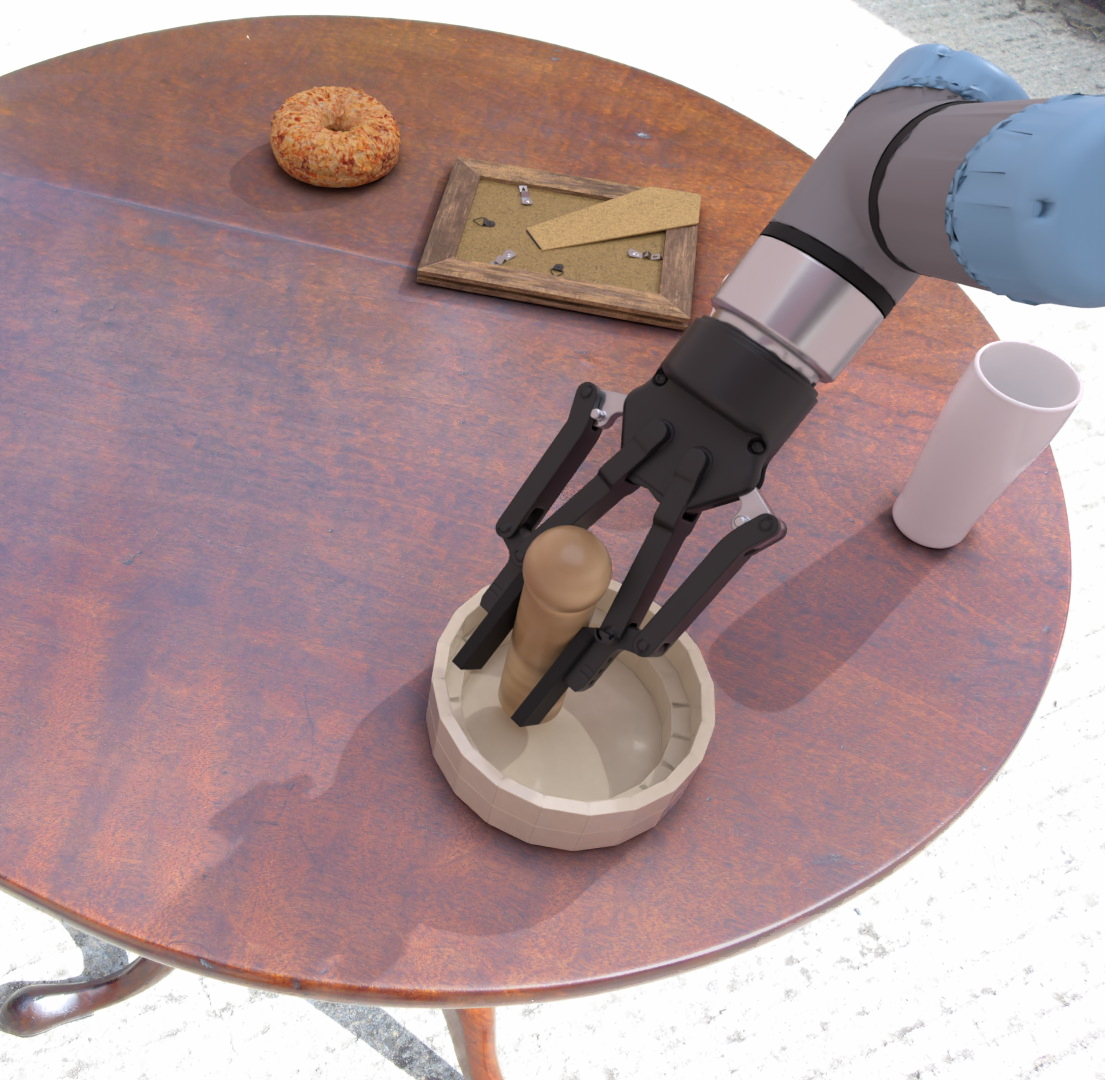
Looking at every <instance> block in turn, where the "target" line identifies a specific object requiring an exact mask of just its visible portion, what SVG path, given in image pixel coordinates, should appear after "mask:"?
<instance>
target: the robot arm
mask: <svg viewBox="0 0 1105 1080" xmlns="http://www.w3.org/2000/svg"><path fill="white" fill-rule="evenodd" d="M728 274H729V275H728ZM728 274H727V275H728V276H727V275H726V276H727V277H726V276H725V277H726V278H725V277H724V278H725V280H724V279H723V280H724V281H723V280H722V281H723V282H721V283H720V285H718V287H717V288H716V290H715V291H714V292H713V294H712V295H711V296H710V304H711V307H712V309H713V308H714V309H715V312H714V313H713V315H712V316H711V317H710V315H708V314H702V316H701V317H699V316H695V318H694V319H693V321H692V322H691V323H690V324H689V325H688V327H687V330H686V331H684V333H683V334H682V335H681V337H680V338H679V339H678V340H677V342H676V343H675V345H674V346H673V347H672V348H671V350H670V351H669V352H668V354H667V355H666V356H665V358H664V359H663V360H662V362H661V363H660V364H659V366H658V368H657V369H656V371H655V372H654V374H653V375H652V377H651V378H650V379H649V380H648V381H646V382H645V383H643V384H641V385H639V386H637V387H635V388H634V389H632V390H631V391H630V392H629V393H628V394H626V393H622V392H617V391H612V390H608V389H602V388H601V387H600V386H598V385H597V384H595V383H593V382H591V381H584V382H582V383H580V384H579V385H578V386H577V388H576V391H575V393H574V397H573V400H572V404H571V407H570V411H569V414H568V418H567V420H566V422H565V423H564V424H563V426H562V427H561V428H560V430H559V431H558V433H557V434H556V435H555V437H554V439H553V440H552V441H551V443H550V445H549V446H548V448H546V450H545V452H544V453H543V455H542V456H541V457H540V459H539V460H538V462H537V463H536V465H535V466H534V468H533V469H532V471H531V472H530V474H529V475H528V476H527V478H526V479H525V480H524V482H523V483H522V485H521V486H520V488H519V489H518V491H517V492H516V493H515V495H514V496H513V498H512V500H511V501H510V502H509V504H508V505H507V507H505V509H504V511H503V512H502V514H501V516H500V517H499V518H498V520H497V521H496V524H495V526H494V527H495V528H494V530H495V533H496V535H497V536H498V537H500V538H501V539H502V540H503V542H504V545H505V546H506V548H507V550H508V553H509V554H508V555H509V556H508V560H507V562H506V564H505V565H504V567H502V569H501V571H500V572H499V573H498V574H497V576H496V577H495V578H494V579H493V581H492V583H490V584H491V585H490V584H489V585H490V586H489V588H488V589H487V590H486V592H485V593H484V594H483V596H482V598H481V602H480V606H481V607H482V608H483V609H484V610H486V611H487V612H488V614H487V615H486V617H485V618H484V619H483V621H482V622H481V623H480V625H479V626H478V627H477V629H476V630H475V631H474V632H473V634H472V635H471V636H470V638H469V639H468V640H467V642H466V643H465V644H464V646H463V647H462V648H461V649H460V651H459V652H458V653H457V655H456V656H455V657H454V659H453V660H452V662H453V663H454V664H455V665H456V666H457V667H458V668H459V669H460V670H476V669H482V668H483V666H484V665H485V664H486V662H487V661H488V660H489V659H490V657H491V656H492V655H493V653H494V652H495V651H496V650H497V648H498V647H499V646H500V644H501V643H502V642H503V640H504V639H505V638H506V637H507V635H508V634H509V633H510V631H511V630H512V629H513V627H514V623H515V618H516V614H517V610H518V606H519V602H520V598H521V593H522V589H523V585H524V578H523V560H524V557H525V554H526V551H527V549H528V547H529V546H530V544H531V543H532V542H533V541H534V539H535V538H536V537H537V536H539V535H540V534H541V533H543V532H544V531H546V530H548V529H550V528H553V527H557V526H562V525H571V526H577V527H581V528H584V529H586V530H588V529H590V528H591V527H592V526H593V525H595V524H596V523H597V522H598V521H599V520H600V519H601V518H602V517H603V516H605V515H606V514H607V513H608V512H609V511H610V510H612V508H614V507H615V506H616V505H618V503H620V501H622V500H623V499H624V498H626V497H628V496H631V495H632V494H633V493H635V492H636V491H638V490H639V489H640V488H641V487H642V488H644V489H646V490H648V491H649V493H650V494H651V495H652V496H653V498H654V500H655V501H657V502H658V503H659V504H658V507H657V508H656V510H655V512H654V515H653V517H652V524H651V526H650V528H649V530H648V532H647V534H646V536H645V539H644V540H643V542H642V544H641V546H640V548H639V550H638V552H637V554H636V556H635V557H634V560H633V562H632V564H631V565H630V567H629V569H628V572H627V574H626V575H625V577H624V579H623V582H622V583H621V584H622V585H621V587H620V589H619V591H618V593H617V595H616V597H615V599H614V601H613V603H612V605H611V607H610V609H609V611H608V613H607V615H606V616H605V618H604V620H603V622H602V624H601V626H600V628H599V627H595V628H593V627H582V628H581V629H580V631H579V632H578V633H577V634H576V636H575V637H574V638H573V639H572V641H571V642H570V643H569V644H568V646H567V647H566V648H565V649H564V651H563V652H562V653H561V654H560V656H559V657H558V658H557V660H556V661H555V662H554V663H553V665H552V666H551V667H550V668H549V670H548V671H547V672H546V673H545V675H544V676H543V677H542V678H541V680H540V681H539V682H538V683H537V685H536V686H535V687H534V689H533V690H532V691H531V692H530V694H529V695H528V696H527V697H526V699H525V700H524V701H523V702H522V704H521V705H520V706H519V707H518V709H517V710H516V711H515V712H514V714H513V715H512V716H511V719H512V720H513V721H514V722H515V723H516V724H517V725H518V726H519V727H525V726H532V725H539V724H540V723H541V721H542V720H543V719H544V718H545V716H546V715H547V714H548V713H549V711H550V710H551V709H552V708H553V706H554V705H555V704H556V703H557V701H558V700H559V699H560V698H561V696H562V695H563V694H564V693H565V691H566V690H567V689H568V688H569V687H570V688H571V689H572V690H573V691H574V692H582V691H585V690H587V689H589V688H591V687H592V686H593V685H594V684H595V683H596V681H597V680H598V679H599V678H600V676H601V675H602V674H603V673H604V672H605V670H606V669H607V668H608V667H609V665H610V664H611V663H612V662H613V660H614V659H615V658H616V657H617V656H618V654H619V653H620V652H622V651H624V650H627V651H629V652H632V653H634V654H636V655H638V656H639V657H661V656H662V655H664V654H665V653H666V652H667V651H668V650H669V649H670V647H671V646H672V645H673V644H674V643H675V642H676V641H677V640H678V638H679V637H680V636H681V635H682V634H683V633H684V632H685V631H686V632H687V629H689V627H690V626H691V625H692V624H693V623H694V622H695V620H696V619H698V617H699V616H700V615H701V614H702V613H703V612H704V610H705V609H706V608H707V607H708V606H709V605H710V604H711V603H712V602H713V601H714V599H715V598H717V596H718V594H720V592H721V591H722V590H723V589H724V588H725V587H726V586H727V585H728V583H730V582H731V580H733V578H734V577H735V576H736V575H737V574H738V572H739V571H740V570H741V569H742V567H744V566H745V565H746V563H747V562H748V561H749V560H750V559H751V558H752V557H754V556H755V555H757V554H758V553H760V552H762V551H764V550H765V549H768V548H770V547H771V546H773V545H775V544H776V543H779V542H781V541H782V540H784V539H785V538H786V536H787V534H788V526H787V524H786V523H785V521H784V520H782V519H781V518H779V517H777V516H776V514H775V512H774V511H773V509H772V507H771V506H770V504H769V503H768V501H767V499H766V498H765V496H764V494H763V492H762V491H761V489H762V487H763V485H764V482H765V478H766V473H767V469H768V467H769V464H770V463H771V461H772V459H773V458H774V457H775V456H776V454H777V453H779V451H780V450H781V449H782V447H783V446H784V445H785V444H786V442H787V441H788V440H789V439H790V437H791V436H792V435H793V434H794V432H795V431H796V430H797V429H798V427H799V426H800V425H801V424H802V423H803V421H804V420H805V419H806V418H807V416H808V415H809V414H810V413H811V412H812V411H813V409H814V408H815V406H817V404H818V403H819V400H818V396H819V392H818V391H817V389H816V388H815V387H816V386H817V384H818V383H822V384H830V383H834V382H836V380H837V379H838V377H840V375H841V374H842V373H843V371H844V370H845V369H846V368H847V366H848V365H849V364H850V363H851V362H852V360H853V359H854V358H855V357H856V356H857V354H858V353H859V352H860V351H861V349H862V348H863V347H864V345H865V344H867V342H868V341H869V340H870V338H871V337H872V336H873V335H874V334H875V332H876V331H877V330H878V328H879V327H880V326H881V324H882V323H883V322H884V320H886V318H887V317H888V316H889V315H890V313H891V312H892V311H893V310H894V308H895V307H896V306H897V304H899V302H900V301H901V299H902V298H903V297H904V296H905V295H906V294H907V292H908V291H909V290H910V289H911V288H912V286H913V285H914V284H915V283H916V282H917V280H918V279H919V278H920V277H921V276H924V277H929V278H934V279H938V280H943V281H946V282H951V283H955V284H958V285H962V286H966V287H970V288H974V289H978V290H981V291H986V292H988V293H989V292H990V293H992V294H994V295H996V296H1005V297H1007V298H1008V299H1009V300H1010V301H1011V302H1014V303H1018V304H1019V303H1020V304H1024V305H1029V306H1034V307H1036V306H1039V305H1049V304H1051V305H1056V306H1064V307H1070V308H1078V309H1100V308H1105V93H1102V94H1101V93H1100V94H1084V93H1082V92H1076V93H1073V94H1060V95H1055V96H1052V97H1043V98H1030V96H1029V94H1028V93H1027V91H1026V90H1025V89H1024V88H1023V87H1022V86H1021V85H1020V84H1019V82H1018V81H1016V79H1014V78H1013V77H1012V76H1011V75H1010V74H1009V73H1007V72H1006V71H1005V70H1004V69H1002V68H1000V67H999V66H998V65H996V64H995V63H993V62H991V61H989V60H988V59H987V58H984V57H981V56H980V55H978V54H976V53H974V52H971V51H968V50H966V49H960V50H959V49H958V50H954V49H952V47H949V46H948V45H945V44H942V43H923V44H919V45H918V44H917V45H915V46H912V47H910V48H907V49H906V50H904V51H903V52H902V53H900V54H898V55H897V57H895V58H894V60H892V62H890V64H889V65H888V67H887V68H886V69H885V70H884V71H883V73H882V74H881V75H880V76H879V77H878V78H877V79H876V81H875V82H874V83H873V84H872V85H871V86H870V88H869V89H868V90H867V91H866V92H864V93H862V94H861V95H860V96H859V97H858V98H857V99H856V100H855V102H854V103H853V105H851V107H850V108H849V110H848V111H847V113H846V115H845V118H844V119H843V122H842V123H841V125H840V126H839V127H838V129H837V130H836V131H835V132H834V134H833V135H832V137H831V138H830V139H829V141H828V142H827V144H826V145H825V146H824V147H823V149H822V150H821V152H819V154H818V156H816V158H815V160H814V161H813V163H812V164H811V165H810V166H809V168H808V169H807V171H806V172H805V173H804V174H803V176H802V177H801V178H800V179H799V180H798V182H797V184H796V185H795V186H794V188H793V189H792V191H791V192H790V193H789V195H788V196H787V198H786V199H785V200H784V202H782V204H781V205H780V207H779V208H778V210H777V211H776V212H775V214H774V215H773V217H771V219H770V220H769V221H768V223H767V224H766V226H765V227H764V228H763V230H762V231H761V232H760V233H759V236H757V237H756V238H755V240H753V242H752V244H751V245H750V246H749V248H748V249H747V250H746V251H745V253H743V255H742V256H741V258H740V259H739V261H737V263H736V264H735V266H734V267H733V268H732V269H731V271H730V272H729V273H728ZM620 417H622V418H621V421H622V422H621V432H620V433H621V435H620V437H621V438H620V448H619V450H617V452H616V453H615V454H613V456H611V457H610V458H609V459H608V460H607V461H606V462H605V463H604V464H602V465H601V466H600V468H598V470H597V474H596V475H594V477H593V478H591V479H590V480H589V481H588V482H587V483H586V484H584V486H582V487H581V488H580V489H579V490H578V491H577V492H576V493H575V494H574V495H572V496H571V497H570V498H569V499H568V500H567V501H565V503H564V504H562V505H561V506H560V507H559V508H558V509H557V510H555V512H553V513H552V514H551V515H550V516H549V517H548V518H547V519H545V520H544V518H545V517H546V515H547V514H548V512H549V511H550V509H551V508H552V507H553V506H554V504H555V503H556V501H557V500H558V498H559V496H560V495H561V494H562V493H563V491H564V490H565V488H566V487H567V485H568V484H569V482H570V481H571V479H572V478H574V476H575V474H576V473H577V471H578V470H579V468H580V467H581V465H582V464H583V463H584V461H585V460H586V458H587V457H588V455H589V454H590V453H591V451H592V450H593V449H594V447H595V446H596V444H597V442H598V441H599V439H600V436H601V435H602V433H603V431H604V430H605V431H606V430H609V429H610V428H612V426H613V425H614V424H615V422H616V421H617V420H618V419H619V418H620ZM739 501H740V507H739V509H738V511H736V513H735V514H734V515H733V516H732V518H731V519H730V527H731V529H732V530H730V531H729V532H728V533H727V534H726V535H725V536H723V537H722V538H721V539H720V540H719V541H717V543H716V544H715V545H714V546H713V548H712V549H711V550H710V551H709V552H708V553H707V554H706V556H704V558H702V560H701V562H700V563H698V565H697V566H696V567H695V568H694V569H693V571H692V572H691V573H690V574H689V575H688V577H686V578H685V580H683V582H682V583H681V584H680V585H679V586H678V587H677V589H676V590H675V591H674V592H673V593H672V595H670V597H669V598H668V599H667V600H666V602H664V603H663V605H662V606H660V607H661V608H660V610H659V611H658V612H657V613H656V614H655V615H654V616H653V618H652V619H651V620H650V621H649V622H648V623H647V624H646V626H645V627H644V628H643V629H639V627H640V625H641V623H642V621H643V620H644V618H645V616H646V614H647V612H648V610H649V608H650V606H651V604H652V602H653V601H654V600H655V598H656V596H657V594H658V592H659V590H660V588H661V587H662V585H663V583H664V581H665V579H666V577H667V575H668V573H669V571H670V569H671V567H672V566H673V563H674V562H675V559H676V557H677V556H678V554H679V551H681V548H682V546H683V544H684V542H685V540H686V539H687V537H689V536H690V535H691V533H692V532H693V530H694V528H695V526H696V525H697V522H698V521H699V519H700V517H701V515H702V513H703V512H706V511H709V510H712V509H715V508H719V507H722V506H725V505H730V504H733V503H736V502H739ZM543 520H544V521H543ZM542 521H543V522H542ZM541 522H542V523H541Z"/></svg>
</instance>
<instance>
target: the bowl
mask: <svg viewBox="0 0 1105 1080" xmlns="http://www.w3.org/2000/svg"><path fill="white" fill-rule="evenodd" d="M491 584H492V583H489V584H487V585H485V586H483V587H482V588H481V589H480V590H478V591H477V592H476V593H475V594H474V595H472V596H471V597H470V598H469V599H468V600H467V601H465V602H464V603H463V604H462V605H460V606H459V607H458V608H457V609H456V610H455V611H454V612H453V614H452V616H451V617H450V620H449V621H448V622H447V624H446V626H445V628H444V629H443V631H442V633H441V634H440V636H439V638H438V639H437V642H436V649H435V654H434V661H433V665H432V673H431V680H430V687H429V694H428V701H427V707H426V712H425V713H426V714H425V722H426V727H427V732H428V738H429V743H430V748H431V753H432V756H433V758H434V760H435V762H436V764H437V765H438V767H439V769H440V771H441V772H442V774H443V775H444V777H445V779H446V781H447V783H448V784H449V786H450V788H451V789H452V791H453V793H454V794H455V795H456V796H457V797H458V798H459V799H460V800H461V801H462V802H464V803H465V804H466V805H467V806H468V807H469V808H470V809H471V810H472V811H473V812H475V814H477V816H478V817H480V818H481V819H482V820H483V821H484V822H485V823H487V824H488V825H490V826H492V827H494V828H496V829H498V830H501V831H503V832H505V834H508V835H510V836H513V837H514V838H516V839H519V840H521V841H523V842H525V843H527V844H530V845H536V846H542V847H547V848H552V849H559V850H565V851H569V852H570V851H571V852H577V851H583V850H591V849H600V848H607V847H613V846H617V845H621V844H622V843H625V842H627V841H628V840H631V839H633V838H634V837H637V836H638V835H641V834H643V833H645V832H647V831H649V830H651V829H652V828H654V827H656V825H657V824H658V823H659V822H660V821H661V820H662V819H663V818H664V817H665V816H666V815H667V813H669V811H670V810H671V809H672V808H673V807H674V806H675V804H677V802H679V800H680V799H681V797H682V796H683V794H684V792H685V791H686V789H687V788H688V786H689V785H690V782H691V781H692V778H693V777H694V775H695V774H696V772H697V771H698V769H699V767H700V765H701V764H702V763H703V760H704V757H705V755H706V753H707V749H708V746H709V744H710V741H711V738H712V735H713V732H714V730H715V727H716V705H715V704H716V703H715V686H714V682H713V679H712V677H711V674H710V672H709V670H708V669H709V668H708V666H707V664H706V662H705V659H704V657H703V655H702V651H701V649H700V648H699V646H698V645H697V644H696V642H695V641H694V640H693V638H692V637H691V636H690V635H689V634H688V632H687V630H686V631H685V632H684V633H683V634H682V635H681V636H680V637H679V638H678V640H677V641H676V642H675V643H674V644H673V645H672V646H671V647H670V649H669V650H668V651H667V652H666V653H665V654H664V655H662V656H661V657H639V656H638V655H636V654H634V653H632V652H629V651H627V650H624V651H622V652H620V653H619V654H618V656H617V657H616V658H615V659H614V660H613V662H612V663H611V664H610V665H609V667H608V668H607V669H606V670H605V672H604V673H603V674H602V675H601V676H600V678H599V679H598V680H597V681H596V683H595V684H594V685H593V686H592V687H591V688H589V689H587V690H585V691H582V692H574V691H573V690H572V689H571V688H570V687H569V688H568V690H567V693H566V696H565V699H564V702H563V705H562V708H561V710H560V712H559V713H558V715H557V716H556V717H555V718H553V719H552V720H550V721H548V722H546V723H543V724H539V725H532V726H525V727H519V726H518V725H517V724H516V723H515V722H514V721H513V720H512V719H511V717H510V716H509V715H508V714H507V713H506V712H505V711H504V709H503V708H502V706H501V704H500V701H499V697H498V689H499V685H500V681H501V677H502V673H503V668H504V664H505V660H506V656H507V652H508V648H509V643H510V639H511V635H512V631H513V629H512V630H511V631H510V633H509V634H508V635H507V637H506V638H505V639H504V640H503V642H502V643H501V644H500V646H499V647H498V648H497V650H496V651H495V652H494V653H493V655H492V656H491V657H490V659H489V660H488V661H487V662H486V664H485V665H484V666H483V668H482V669H476V670H460V669H459V668H458V667H457V666H456V665H455V664H454V663H453V662H452V660H453V659H454V657H455V656H456V655H457V653H458V652H459V651H460V649H461V648H462V647H463V646H464V644H465V643H466V642H467V640H468V639H469V638H470V636H471V635H472V634H473V632H474V631H475V630H476V629H477V627H478V626H479V625H480V623H481V622H482V621H483V619H484V618H485V617H486V615H487V614H488V612H487V611H486V610H484V609H483V608H482V607H481V606H480V602H481V598H482V596H483V594H484V593H485V592H486V590H487V589H488V588H489V586H490V585H491ZM621 585H622V583H621V582H618V581H616V580H614V579H611V581H610V584H609V587H608V589H607V591H606V593H605V594H604V595H603V597H602V598H601V599H600V600H599V601H598V602H597V604H596V607H595V610H594V613H593V616H592V619H591V622H590V625H589V627H593V628H595V627H599V628H600V626H601V624H602V622H603V620H604V618H605V616H606V615H607V613H608V611H609V609H610V607H611V605H612V603H613V601H614V599H615V597H616V595H617V593H618V591H619V589H620V587H621ZM661 607H662V606H661V605H659V604H658V603H657V602H655V601H654V600H653V602H652V604H651V606H650V608H649V610H648V612H647V614H646V616H645V618H644V620H643V621H642V623H641V625H640V627H639V629H643V628H644V627H645V626H646V624H647V623H648V622H649V621H650V620H651V619H652V618H653V616H654V615H655V614H656V613H657V612H658V611H659V610H660V608H661Z"/></svg>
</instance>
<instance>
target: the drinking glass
mask: <svg viewBox="0 0 1105 1080" xmlns="http://www.w3.org/2000/svg"><path fill="white" fill-rule="evenodd" d="M1083 395H1084V384H1083V381H1082V378H1081V377H1080V375H1079V373H1078V372H1077V371H1076V369H1075V368H1074V367H1073V366H1072V365H1071V364H1070V363H1069V362H1068V361H1066V360H1065V359H1064V358H1063V357H1061V356H1059V354H1056V353H1055V352H1053V351H1051V350H1050V349H1047V348H1045V347H1043V346H1040V345H1038V344H1035V343H1031V342H1027V341H1023V340H1022V341H1021V340H1016V339H1015V340H1014V339H1003V340H1002V339H1001V340H997V341H992V342H989V343H987V344H985V345H983V346H982V347H981V348H979V350H977V352H976V353H975V354H974V356H973V358H971V360H970V361H969V363H968V365H967V366H966V367H965V369H964V370H963V372H962V373H961V374H960V376H959V378H958V379H957V381H956V382H955V385H954V386H953V388H952V389H951V391H950V393H949V394H948V396H947V398H946V400H945V401H944V404H943V406H942V408H941V409H940V412H939V414H938V416H937V418H936V420H935V421H934V424H933V427H932V429H931V431H930V433H929V435H928V437H927V439H926V441H925V443H924V445H923V447H922V449H921V451H920V453H919V455H918V457H917V459H916V462H915V464H914V466H913V468H912V470H911V471H910V474H909V475H908V477H907V479H906V482H905V483H904V486H903V487H902V489H901V491H900V492H899V494H898V495H897V497H896V499H895V500H894V502H893V505H892V510H891V513H892V519H893V521H894V524H895V526H896V527H897V529H898V530H899V531H900V532H901V533H902V534H903V535H904V536H905V537H906V538H908V539H909V540H911V541H912V542H914V543H916V544H918V545H920V546H923V547H926V548H930V549H948V548H951V547H955V546H956V545H958V544H960V543H961V542H963V541H964V539H965V538H966V537H967V536H968V534H969V533H970V532H971V530H972V529H973V528H974V526H975V525H976V524H977V523H978V522H979V520H981V518H982V517H983V516H984V515H985V514H986V513H987V512H988V511H989V510H990V509H991V508H992V506H993V505H994V504H996V502H997V501H998V500H999V499H1000V498H1001V497H1002V496H1003V494H1005V493H1006V491H1007V490H1009V488H1010V487H1011V486H1012V485H1013V484H1014V483H1015V482H1016V481H1017V480H1018V479H1019V478H1020V476H1021V475H1023V473H1024V472H1025V471H1026V470H1027V469H1028V468H1029V467H1030V466H1031V465H1032V464H1033V463H1034V461H1036V459H1038V457H1040V455H1041V454H1042V453H1043V452H1044V450H1045V449H1046V448H1047V447H1048V446H1049V445H1050V444H1051V443H1052V441H1053V440H1054V439H1055V437H1056V436H1057V435H1058V434H1059V433H1060V430H1062V428H1063V427H1064V426H1065V424H1066V423H1067V421H1068V420H1069V418H1070V417H1071V415H1072V414H1073V412H1074V411H1075V410H1076V408H1077V406H1078V405H1079V403H1080V402H1081V400H1082V398H1083Z"/></svg>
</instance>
